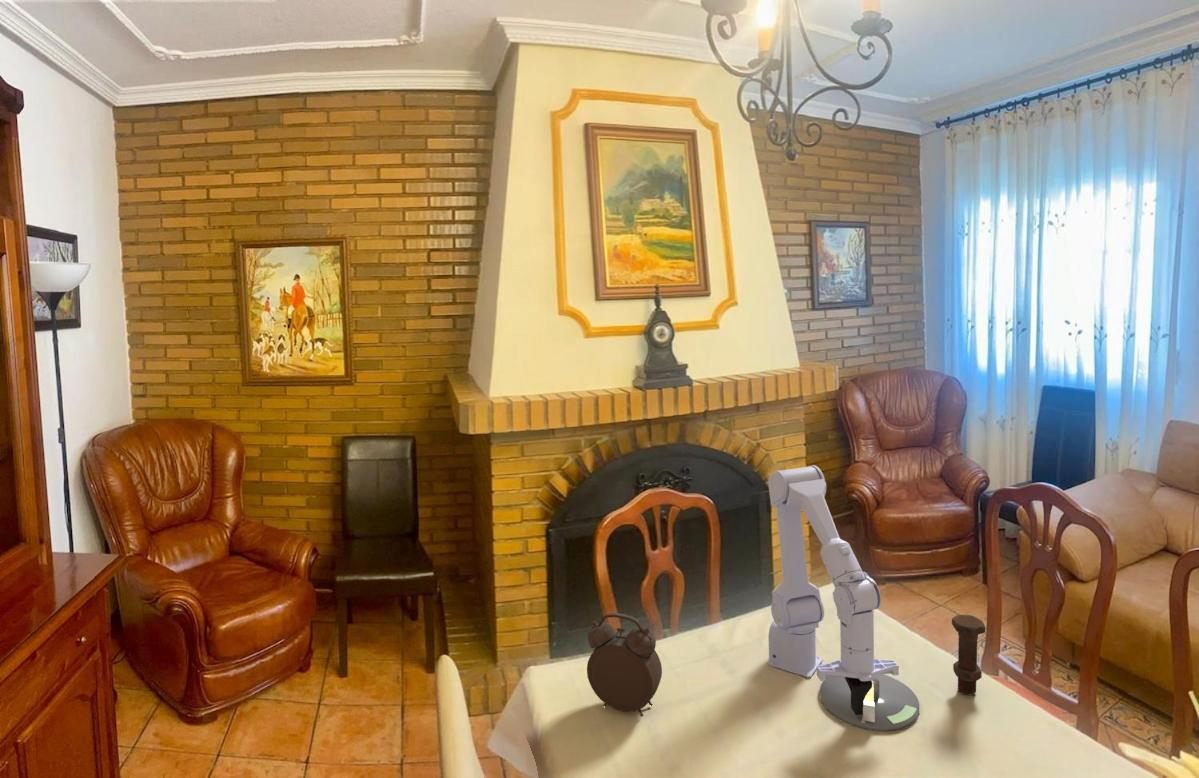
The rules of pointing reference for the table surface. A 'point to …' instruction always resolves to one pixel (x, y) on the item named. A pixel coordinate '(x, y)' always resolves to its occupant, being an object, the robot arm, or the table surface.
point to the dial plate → (890, 709)
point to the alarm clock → (623, 665)
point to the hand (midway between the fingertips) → (857, 711)
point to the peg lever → (871, 701)
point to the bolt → (967, 652)
